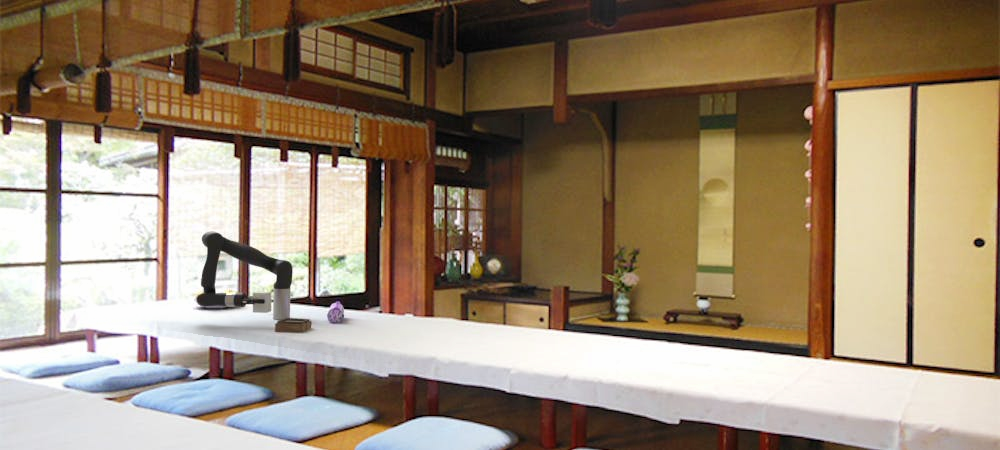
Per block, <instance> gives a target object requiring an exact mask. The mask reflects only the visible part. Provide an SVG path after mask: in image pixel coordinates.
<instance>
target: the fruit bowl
mask: <svg viewBox="0 0 1000 450" xmlns="http://www.w3.org/2000/svg"><path fill="white" fill-rule="evenodd" d="M201 293H203V290H201V291H199V292H198V293H197V294H196V296H195V297H194V298H193V300H194V301H195V303H196V304H197V305H198V306H200V307H202V308H204V307H206V308H205V309H211V308H221V309H226V308H225V307H228V308H231V307H230V306H201V305H199V304H198V303H197V296H198V295H199V294H201ZM222 293H235V292H234V291H233V290H232V289H230V290H224V291H223V292H222Z"/></svg>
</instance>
